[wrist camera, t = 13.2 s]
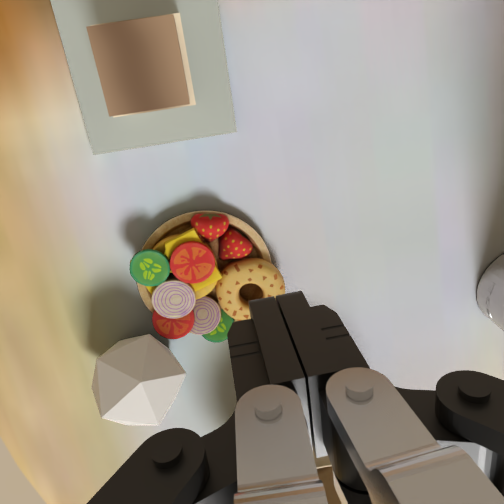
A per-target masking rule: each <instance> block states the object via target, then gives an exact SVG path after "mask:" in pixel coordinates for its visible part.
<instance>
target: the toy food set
mask: <svg viewBox="0 0 504 504" xmlns="http://www.w3.org/2000/svg"><path fill="white" fill-rule="evenodd" d="M130 274H131V276H132V277H133V279H134V280H135V281H136V282H137V286H138V290H139V293H140V296H141V298H142V300H143V302H144V303H145V305H146V306H147V308H148V309H149V310H150V311H151V312H152V313H153V317H152V322H153V326H154V328H155V330H156V332H157V333H159V334H160V335H161V336H163V337H165V338H168V339H178V338H181V337H183V336H185V335H186V334H187V333H193V334H198V335H202V336H203V337H204V338H205V339H206V340H208V341H211V342H222V341H224V340H226V339H228V337H227V333H228V331H229V329H230V327H231V325H232V323H233V322H236V321H241V320H246V319H251V317H250V310H249V303H248V301H250V300H255V299H261V298H266V297H271V296H274V297H276V295H282V294H285V284H284V280H283V277H282V275H281V273H280V272H279V270H278V269H277V268H276V267H275V266H274V265H273V264H271V257H270V254H269V251H268V248H267V246H266V244H265V242H264V241H263V239H262V238H261V236H260V235H259V234H258V233H257V232H256V231H255V230H254V229H253V228H252V227H251V226H250V225H248V224H247V223H245V222H244V221H242V220H241V219H239V218H237V217H234V216H232V215H229V214H226V213H222V212H217V211H194V212H189V213H185V214H182V215H179V216H176V217H174V218H172V219H170V220H168V221H167V222H165V223H164V224H162V225H161V226H160V227H158V228H157V229H156V230H155V231H154V232H153V233H152V234H151V236H150V237H149V238H148V239H147V241H146V242H145V244H144V246H143V247H142V250H141V251H140V252H138V253H137V254H135V255H134V257H133V258H132V260H131V261H130Z"/></svg>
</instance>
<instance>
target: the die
mask: <svg viewBox="0 0 504 504" xmlns="http://www.w3.org/2000/svg"><path fill="white" fill-rule="evenodd" d="M185 375H186V372H185V371H184V369H183V368H182V366H181V365H180V363H179V362H178V361H177V359H176V358H175V356H174V355H173V353H172V352H171V351H170V349H169V348H167V347H166V346H165V345H163V344H162V343H161V342H160V341H158V340H157V339H156V338H154V337H153V336H152V335H150V334H147V335H142V336H138V337H133V338H129V339H124V340H120V341H118V342H117V343H116V344H115V345H113V346H112V347H111V348H110V349H108V350H107V351H106V352H105V353H103V354H102V355H101V356H100V357H99V358H97V360H96V366H95V371H94V377H93V383H92V390H93V393H94V396H95V399H96V403H97V406H98V409H99V412H100V415H101V418H104V419H107V420H111V421H114V422H118V423H121V424H124V425H160V423H161V421H162V420H163V418H164V417H165V415H166V413H167V412H168V410H169V409H170V407H171V405H172V404H173V402H174V400H175V399H176V396H177V394H178V392H179V389H180V387H181V385H182V382H183V380H184V378H185Z"/></svg>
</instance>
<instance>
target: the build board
mask: <svg viewBox="0 0 504 504" xmlns="http://www.w3.org/2000/svg"><path fill="white" fill-rule="evenodd" d="M50 1H51V4H52V8H53V12H54V15H55V19H56V22H57V26H58V30H59V33H60V37H61V40H62V44H63V48H64V51H65V55H66V58H67V62H68V65H69V69H70V73H71V76H72V80H73V83H74V87H75V91H76V94H77V98H78V101H79V105H80V109H81V112H82V116H83V119H84V123H85V126H86V130H87V134H88V137H89V141H90V144H91V148H92V152H93V155H97V154H103V153H109V152H115V151H122V150H128V149H134V148H140V147H147V146H153V145H159V144H165V143H172V142H178V141H184V140H190V139H197V138H203V137H209V136H215V135H222V134H228V133H234V132H237V130H236V123H235V116H234V109H233V102H232V95H231V88H230V81H229V75H228V68H227V61H226V54H225V47H224V40H223V33H222V26H221V20H220V13H219V6H218V0H50ZM173 13H180V17H181V23H182V28H183V34H184V40H185V45H186V51H187V57H188V62H189V68H190V73H191V79H192V85H193V90H194V96H195V102H196V105H191V106H185V107H179V108H172V109H166V110H159V111H153V112H146V113H140V114H133V115H127V116H120V117H114V118H113V116H111V117H109V114H108V110H107V106H106V102H105V98H104V94H103V90H102V86H101V83H100V79H99V75H98V71H97V67H96V63H95V59H94V55H93V52H92V48H91V44H90V40H89V36H88V32H87V28H86V27H87V26H90V25H95V24H102V23H109V22H116V21H123V20H130V19H138V18H145V17H152V16H159V15H166V14H173Z"/></svg>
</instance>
